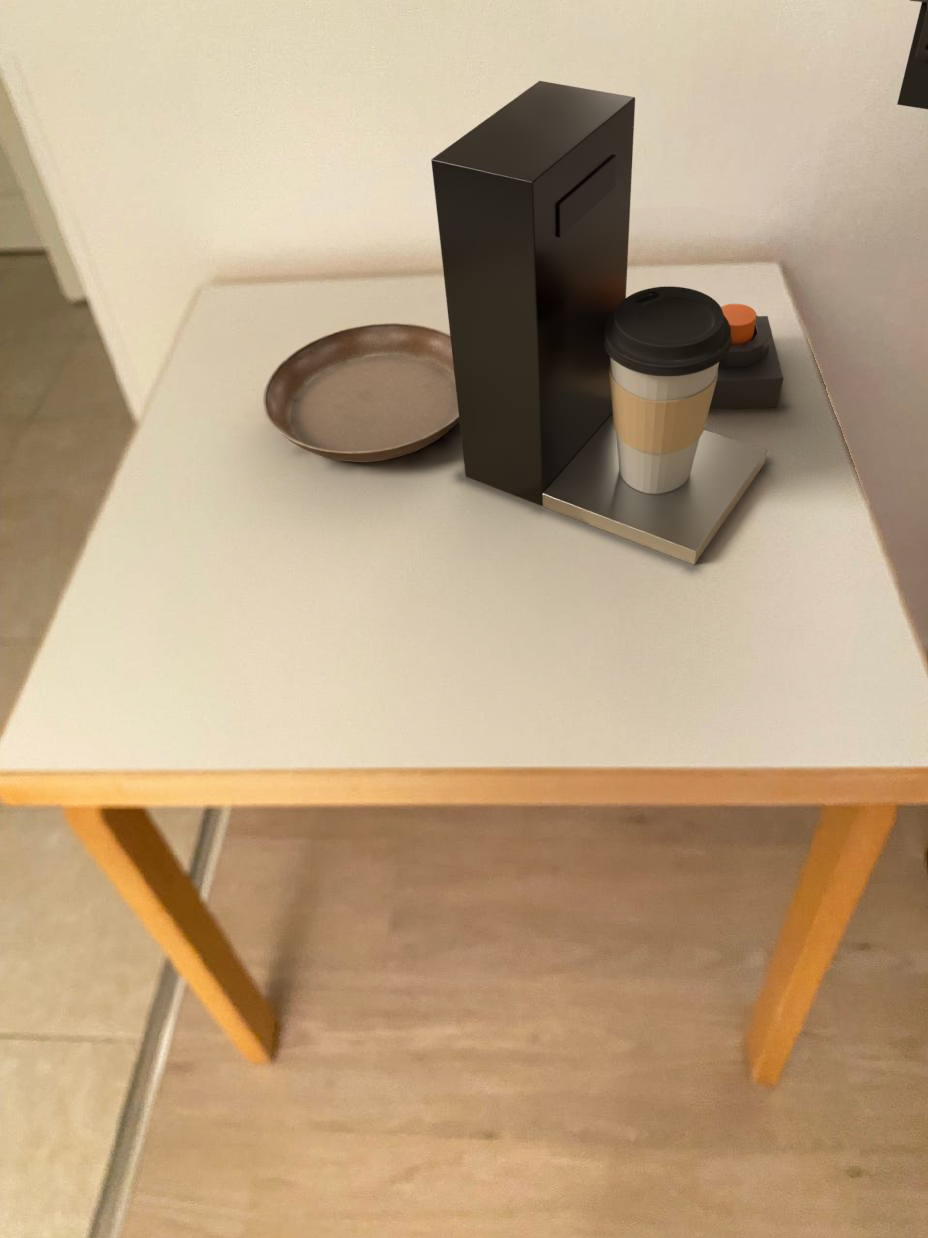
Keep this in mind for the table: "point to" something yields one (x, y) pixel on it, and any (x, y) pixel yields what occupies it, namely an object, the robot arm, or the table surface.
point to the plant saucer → (366, 392)
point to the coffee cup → (663, 381)
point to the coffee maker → (558, 318)
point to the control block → (750, 373)
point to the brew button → (740, 322)
